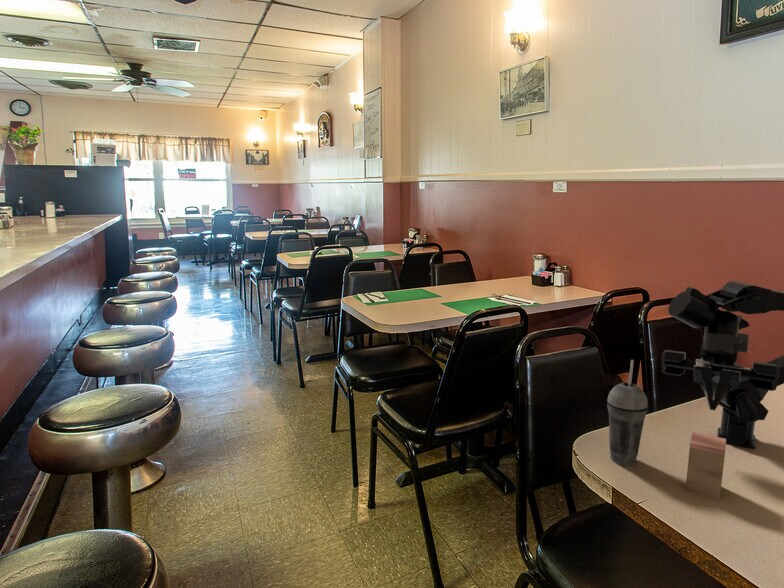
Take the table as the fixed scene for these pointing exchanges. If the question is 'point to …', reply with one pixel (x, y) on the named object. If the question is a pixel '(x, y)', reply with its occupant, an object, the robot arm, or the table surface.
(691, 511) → the table surface
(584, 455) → the table surface
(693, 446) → the wooden block
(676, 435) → the table surface
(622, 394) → the beverage cup
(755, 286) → the robot arm
